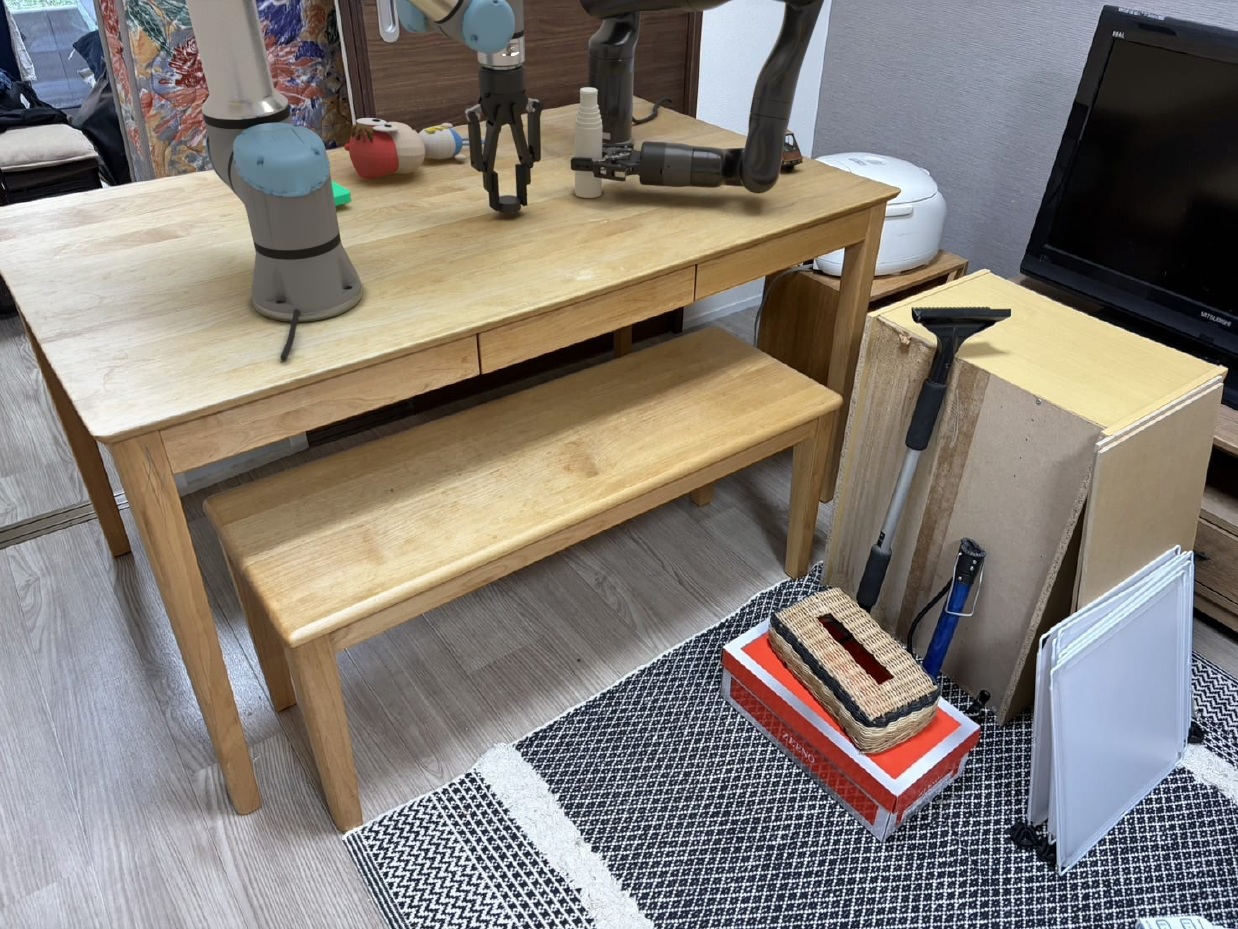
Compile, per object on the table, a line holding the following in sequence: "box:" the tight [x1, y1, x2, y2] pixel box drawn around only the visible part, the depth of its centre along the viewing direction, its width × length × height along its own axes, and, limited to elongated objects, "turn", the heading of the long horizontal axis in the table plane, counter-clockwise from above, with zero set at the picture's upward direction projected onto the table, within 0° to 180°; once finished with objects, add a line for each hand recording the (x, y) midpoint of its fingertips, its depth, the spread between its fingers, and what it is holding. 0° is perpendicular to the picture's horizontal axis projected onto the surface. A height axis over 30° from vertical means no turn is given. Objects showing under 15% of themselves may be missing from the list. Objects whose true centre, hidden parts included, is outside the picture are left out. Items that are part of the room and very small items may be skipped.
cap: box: [497, 194, 522, 215], centre depth 161 cm, size 4×4×2 cm
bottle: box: [574, 86, 603, 199], centre depth 166 cm, size 5×5×18 cm
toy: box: [343, 117, 499, 180], centre depth 179 cm, size 18×10×30 cm
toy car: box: [781, 128, 804, 172], centre depth 184 cm, size 6×12×7 cm, turn 39°
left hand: (508, 205), depth 161 cm, fingers open, 5 cm apart
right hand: (574, 158), depth 168 cm, fingers closed on bottle, 5 cm apart
